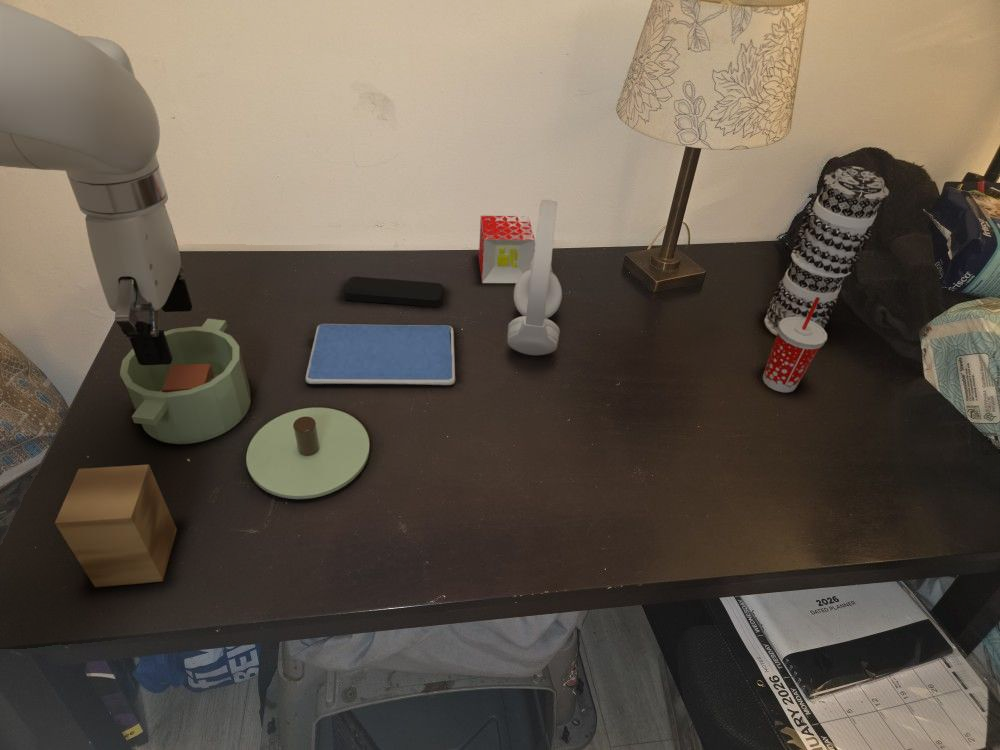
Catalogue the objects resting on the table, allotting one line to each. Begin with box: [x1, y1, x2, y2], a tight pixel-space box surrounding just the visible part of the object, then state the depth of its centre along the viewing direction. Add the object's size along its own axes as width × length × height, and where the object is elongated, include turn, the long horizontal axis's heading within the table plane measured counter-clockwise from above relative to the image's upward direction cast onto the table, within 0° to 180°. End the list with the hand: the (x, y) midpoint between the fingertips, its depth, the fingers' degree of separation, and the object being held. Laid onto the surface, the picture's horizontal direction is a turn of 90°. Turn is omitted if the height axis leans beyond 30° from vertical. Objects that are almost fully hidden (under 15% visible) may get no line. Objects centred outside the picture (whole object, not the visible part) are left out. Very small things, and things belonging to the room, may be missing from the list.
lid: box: [245, 407, 371, 500], centre depth 73 cm, size 14×14×5 cm
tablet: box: [305, 323, 456, 386], centre depth 88 cm, size 19×13×1 cm, turn 94°
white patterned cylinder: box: [763, 165, 890, 336], centre depth 93 cm, size 9×9×25 cm
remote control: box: [343, 275, 445, 308], centre depth 100 cm, size 5×2×15 cm
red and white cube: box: [478, 215, 536, 284], centre depth 106 cm, size 8×8×8 cm
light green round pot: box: [119, 318, 252, 445], centre depth 77 cm, size 13×18×8 cm
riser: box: [54, 464, 178, 588], centre depth 60 cm, size 6×6×10 cm
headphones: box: [506, 199, 563, 356], centre depth 88 cm, size 7×18×20 cm, turn 174°
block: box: [162, 364, 214, 393], centre depth 78 cm, size 4×4×4 cm
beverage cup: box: [762, 297, 828, 393], centre depth 86 cm, size 6×6×14 cm
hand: (167, 335), depth 71 cm, fingers open, 9 cm apart
